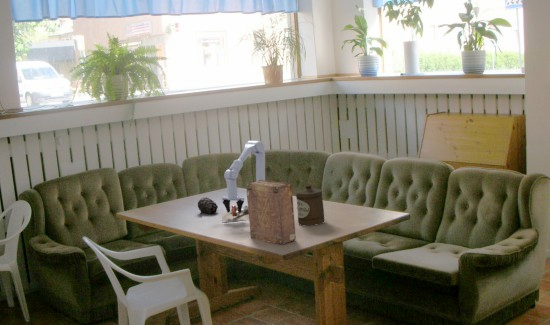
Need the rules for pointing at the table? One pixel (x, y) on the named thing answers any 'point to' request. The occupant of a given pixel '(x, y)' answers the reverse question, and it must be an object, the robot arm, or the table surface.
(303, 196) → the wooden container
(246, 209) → the lever
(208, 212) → the pine cone
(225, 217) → the base
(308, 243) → the table surface
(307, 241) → the table surface
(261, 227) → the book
